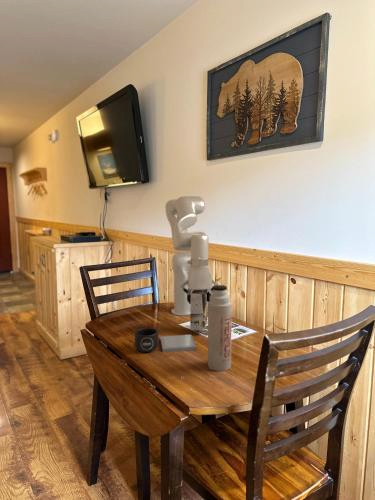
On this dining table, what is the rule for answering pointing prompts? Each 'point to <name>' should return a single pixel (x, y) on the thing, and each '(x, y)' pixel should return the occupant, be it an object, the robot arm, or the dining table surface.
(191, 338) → the slate trivet
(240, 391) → the dining table surface
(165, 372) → the dining table surface
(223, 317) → the thermos bottle
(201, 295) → the coffee box
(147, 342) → the mug
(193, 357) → the dining table surface
